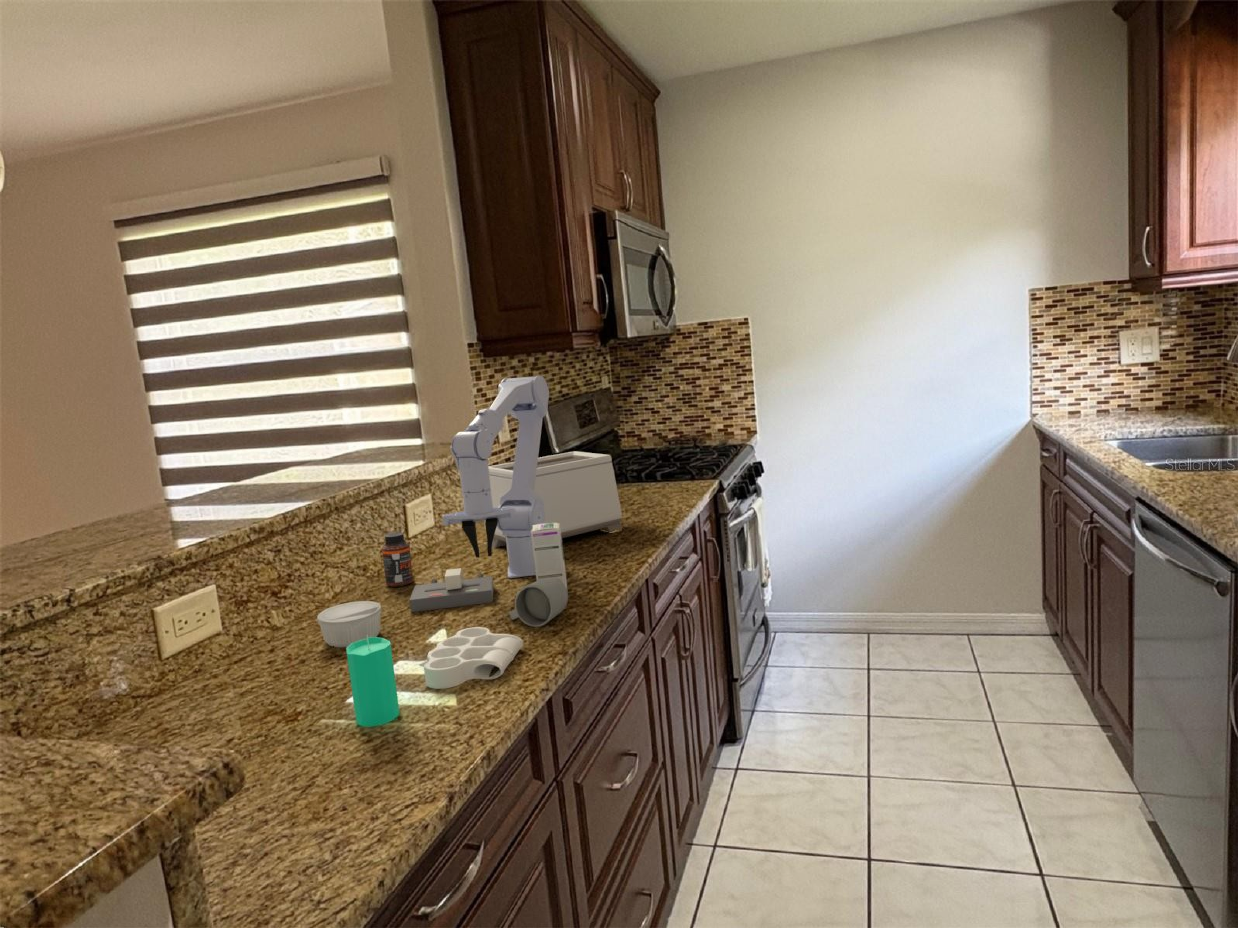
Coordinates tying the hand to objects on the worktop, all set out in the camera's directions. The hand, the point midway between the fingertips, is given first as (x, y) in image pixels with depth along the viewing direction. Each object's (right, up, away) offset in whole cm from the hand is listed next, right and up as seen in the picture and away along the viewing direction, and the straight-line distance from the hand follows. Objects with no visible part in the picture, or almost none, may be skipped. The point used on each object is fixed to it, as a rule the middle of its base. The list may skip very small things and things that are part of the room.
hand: (483, 555), depth 162 cm
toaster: (+12, -1, +47) cm, 49 cm away
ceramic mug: (+13, -10, -16) cm, 23 cm away
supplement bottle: (-21, -8, +16) cm, 28 cm away
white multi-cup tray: (+4, -14, -34) cm, 37 cm away
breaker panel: (-7, -8, +5) cm, 12 cm away
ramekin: (-21, -13, -17) cm, 30 cm away
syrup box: (+14, -8, -3) cm, 17 cm away
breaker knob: (-6, -6, 0) cm, 9 cm away
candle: (-6, -17, -50) cm, 54 cm away
